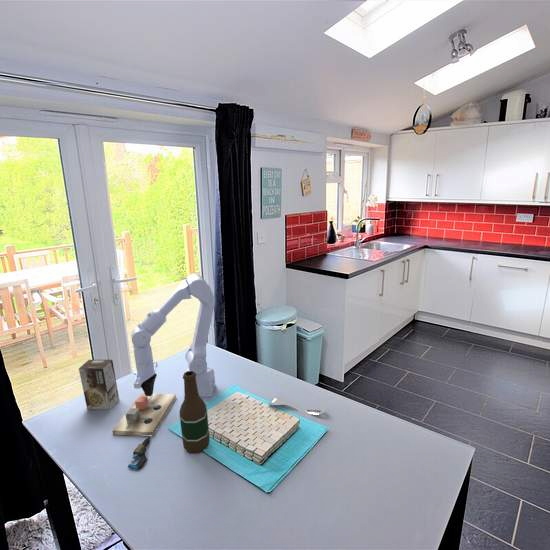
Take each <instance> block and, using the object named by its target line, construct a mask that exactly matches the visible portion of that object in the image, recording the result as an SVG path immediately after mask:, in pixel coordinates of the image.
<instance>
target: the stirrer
mask: <svg viewBox="0 0 550 550" xmlns="http://www.w3.org/2000/svg"><path fill="white" fill-rule="evenodd" d="M269 405H270V406H282V405H283V406H288V407H290V408H293V409H294V410H296V411H298V412H303V413H306V414H307V415H311V416H318V415H323V414H324V413H325V412H326V409H325V408H324V407H320V408H311V409H306V408H300V407H297V406H295V405H293V404H290V403H289V402H288V401H286V400H285V399H284V398H283V397H280V396H274V397H273V398H272V399H271V401H270V402H269V404H268V406H269Z"/></svg>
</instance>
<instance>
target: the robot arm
mask: <svg viewBox="0 0 550 550" xmlns="http://www.w3.org/2000/svg"><path fill="white" fill-rule="evenodd" d="M191 296H192V297H194V298H195V299H197V300H198V301H199V309H198V313H197V317H196V322H195V323H196V324H195V327H194V333H193V339H192V342H191V343H190V345H189V348H188V350H187V351H186V353H185V360H186V362H187V364H188V365H187V367H186V372H188V371H194V372H195V373H196V383H197V388H198V393H199V396H200V398H201V397H203V398H205V397H207V398H208V397H209V398H210V397H211V396H212V395H213V393H214V390H215V388H216V386H217V384H216V380H215V378H216V377H215V371H214V368H210V367H208V363H207V344H208V338H209V333H210V329H211V324H212V320H213V315H214V309H215V305H216V297H215V295H214V293H213V291H212V288H211V286H210V285H209V284H208V283H207V282H206V279H204V278H203V277H202V275H200V274H199V273H194V272H193V273H190V274H189V275H187V276H186V278H185V279H183V280H182V281H181V282H180V284H179V285H178V286H177V287H176V288H175V289H174V291H173V292H172V293H171V294H170V296H169V297H168V298H167V299H166V300H165V301H164V302H163V304H162V305H161V306H160V307H159V308H158V309H152V310H151V311H148V312H147V313H146V317H145V319H144V320H143V321H142V322H141V323H138V324H137V326H136V327H135V328H133V329H132V331H131V333H130V334H131V335H130V336H131V342H132V345H133V354H134V355H133V356H134V362H135V368H136V370H135V371H134V372H133V375H134V376H135V380H134V382H133V388H134V389H136V390H137V389H142V391H143V393H145V395H146V396H152V394H154V386H155V382H156V378H157V373H156V368H158V361H154V357H153V350H152V345H151V340H152V337H153V336H154V335H155V334H156V333H157V332H159V331H158V330H159V329H161V327H162V326H163V325H164V324H165V323H166V322H167V316H168V315H169V314H170V313H171V312H172V311H173V310H174V309H175V308H176V307H177V306H178V305H179V304H180V303H181V301H183V300H191V299H192V297H191Z"/></svg>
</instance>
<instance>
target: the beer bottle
mask: <svg viewBox="0 0 550 550" xmlns="http://www.w3.org/2000/svg"><path fill="white" fill-rule="evenodd" d="M182 379H183V383H184V384H183V386H184V388H183V389H184V390H183V392H184V398H183V400H182V403H181V405H180V408H179V423H180V430H181V437H182V439H181V440H182V445H183V449H184V450H185V451H186V453H188V454H192V455H194V454H196V455H197V454H201V453H202V452H204V451H205V450H204V449H206V448H207V447H209V444H210V429H209V419H208V418H209V417H208V416H209V415H208V409H207V408H208V407H207V404H206V402H205V401H204V400H203V398H201V397H200V396H199V393H198V388H197V383H196V373H195V372H194V371H188V372H187V371H185V372H184V373H183V375H182ZM207 449H208V448H207ZM207 449H206V450H207ZM203 450H204V451H203Z"/></svg>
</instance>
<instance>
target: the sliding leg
mask: <svg viewBox="0 0 550 550" xmlns="http://www.w3.org/2000/svg"><path fill="white" fill-rule="evenodd" d="M137 398H138V399H137ZM137 398H136V399H137V400H136V399H135V401H134V402H135V405H136V408H139V410H145V409H146V407H154V408H157V407H158V406H157V405H155V404H148V397H142V396H140V395H139V396H138V397H137Z"/></svg>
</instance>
